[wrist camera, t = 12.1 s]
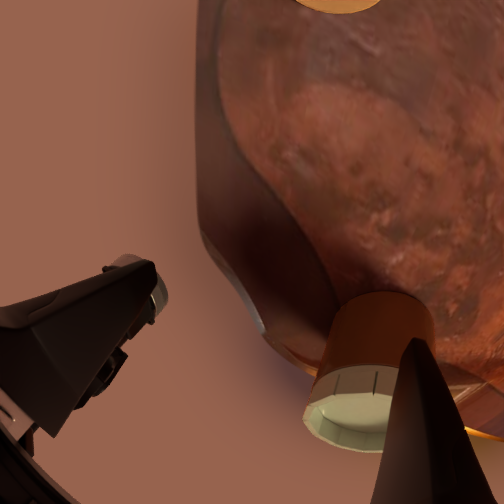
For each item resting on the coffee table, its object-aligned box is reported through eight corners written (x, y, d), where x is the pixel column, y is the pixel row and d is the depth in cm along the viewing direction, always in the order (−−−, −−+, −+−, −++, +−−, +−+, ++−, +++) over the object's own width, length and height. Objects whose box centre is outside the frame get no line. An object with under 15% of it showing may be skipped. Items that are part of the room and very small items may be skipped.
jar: (323, 352, 27) (293, 435, 20) (345, 278, 22) (316, 376, 15) (409, 373, 24) (399, 459, 17) (451, 305, 19) (460, 407, 12)
